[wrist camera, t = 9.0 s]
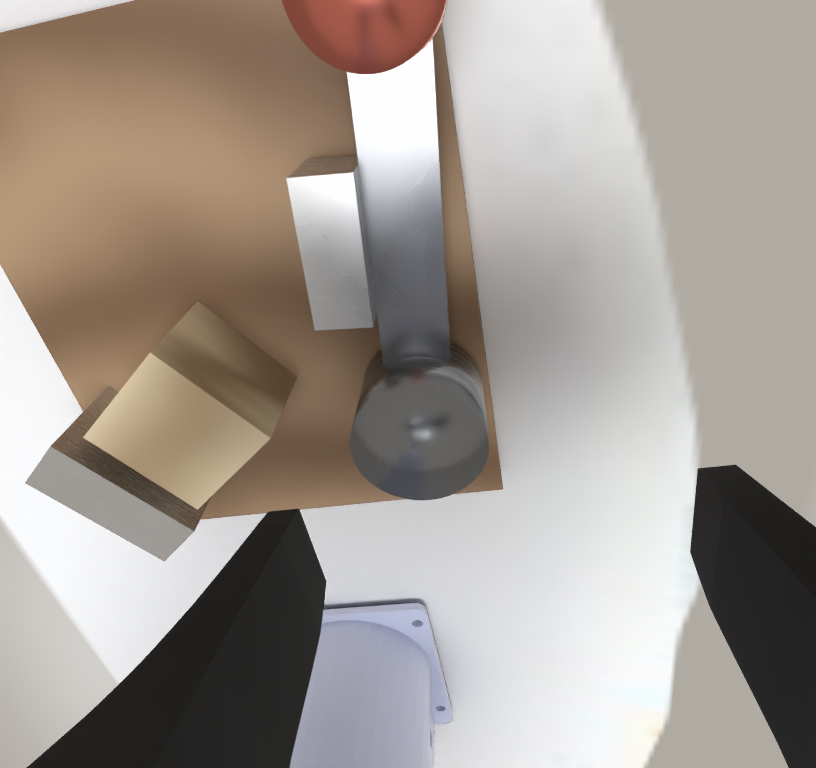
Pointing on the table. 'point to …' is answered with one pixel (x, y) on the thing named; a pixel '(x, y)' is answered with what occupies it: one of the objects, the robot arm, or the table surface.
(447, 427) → the lever
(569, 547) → the table surface
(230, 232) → the board
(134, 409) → the tan cube
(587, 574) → the table surface
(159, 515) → the brown grey rectangular block
